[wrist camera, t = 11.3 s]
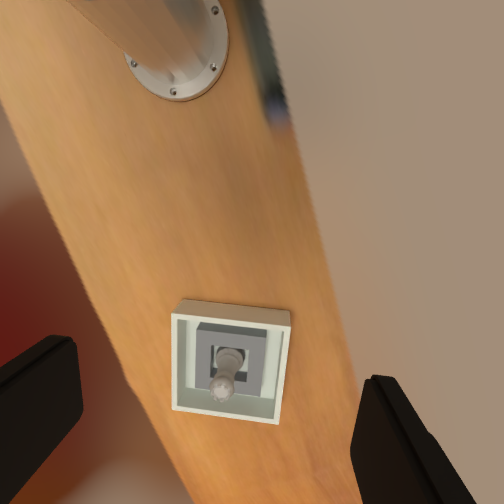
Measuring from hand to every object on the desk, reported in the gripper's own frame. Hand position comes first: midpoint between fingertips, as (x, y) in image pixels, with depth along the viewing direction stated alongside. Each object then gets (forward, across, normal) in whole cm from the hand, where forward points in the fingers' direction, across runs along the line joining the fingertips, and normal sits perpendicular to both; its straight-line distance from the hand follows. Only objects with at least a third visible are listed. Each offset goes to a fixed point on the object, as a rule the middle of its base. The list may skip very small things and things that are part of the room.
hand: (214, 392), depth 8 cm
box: (+28, +3, +19) cm, 34 cm away
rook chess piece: (+28, +3, +19) cm, 34 cm away
